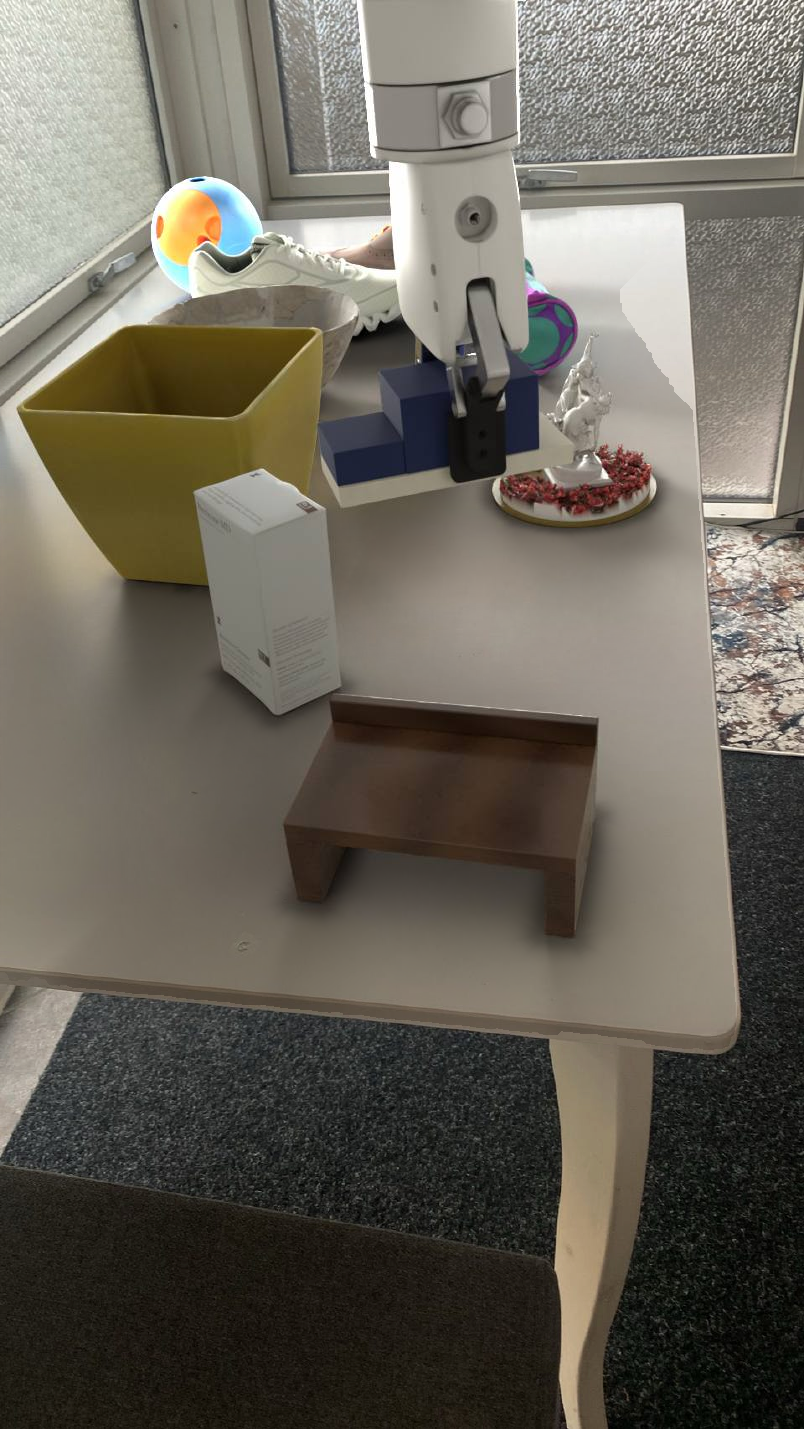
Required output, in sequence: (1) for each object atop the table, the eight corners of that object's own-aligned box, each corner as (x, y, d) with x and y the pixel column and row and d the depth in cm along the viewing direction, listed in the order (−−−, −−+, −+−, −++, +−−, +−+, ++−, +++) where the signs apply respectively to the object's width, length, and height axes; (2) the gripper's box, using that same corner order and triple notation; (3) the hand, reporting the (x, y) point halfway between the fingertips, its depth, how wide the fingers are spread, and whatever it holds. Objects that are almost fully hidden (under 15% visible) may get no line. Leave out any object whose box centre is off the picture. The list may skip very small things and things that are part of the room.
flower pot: (274, 616, 90) (240, 417, 79) (66, 598, 95) (8, 408, 84) (347, 507, 104) (326, 326, 94) (163, 496, 109) (123, 323, 99)
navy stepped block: (541, 430, 70) (540, 340, 66) (573, 463, 65) (574, 369, 62) (322, 471, 67) (310, 381, 64) (341, 508, 63) (329, 414, 60)
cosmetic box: (221, 671, 84) (183, 490, 75) (289, 640, 87) (260, 462, 78) (280, 721, 78) (246, 532, 69) (350, 687, 81) (326, 500, 72)
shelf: (595, 814, 68) (599, 716, 64) (574, 938, 61) (576, 836, 56) (346, 787, 72) (332, 692, 68) (296, 899, 64) (277, 801, 60)
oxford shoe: (308, 281, 163) (298, 198, 156) (521, 276, 157) (520, 189, 150) (287, 305, 155) (275, 218, 148) (511, 302, 148) (510, 210, 141)
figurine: (626, 445, 110) (633, 298, 101) (680, 513, 98) (693, 353, 89) (477, 466, 109) (471, 319, 100) (513, 537, 97) (510, 377, 88)
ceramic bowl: (384, 425, 119) (375, 331, 113) (167, 459, 116) (146, 365, 110) (349, 357, 136) (340, 273, 130) (160, 385, 133) (142, 300, 127)
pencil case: (465, 328, 141) (462, 249, 135) (533, 319, 142) (533, 240, 136) (504, 386, 125) (502, 298, 119) (581, 375, 126) (583, 288, 120)
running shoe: (420, 338, 140) (413, 237, 132) (186, 355, 141) (167, 256, 134) (421, 310, 149) (414, 214, 141) (200, 326, 150) (183, 231, 143)
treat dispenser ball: (285, 277, 166) (269, 165, 156) (246, 311, 154) (226, 192, 145) (190, 277, 170) (170, 167, 160) (145, 310, 158) (120, 194, 149)
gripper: (579, 131, 49) (576, 504, 60) (464, 85, 63) (478, 397, 74) (416, 155, 48) (442, 531, 59) (334, 103, 62) (368, 417, 72)
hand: (462, 453), depth 66 cm, fingers closed on navy stepped block, 5 cm apart
